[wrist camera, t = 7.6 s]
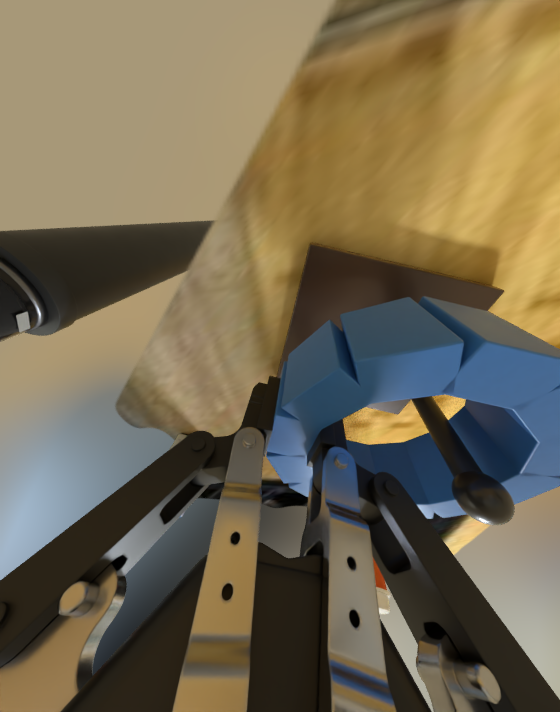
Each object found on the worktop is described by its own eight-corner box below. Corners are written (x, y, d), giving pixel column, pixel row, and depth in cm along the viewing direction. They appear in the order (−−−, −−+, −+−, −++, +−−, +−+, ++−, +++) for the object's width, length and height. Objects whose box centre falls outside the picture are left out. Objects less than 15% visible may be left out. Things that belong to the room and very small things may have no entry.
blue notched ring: (264, 437, 17) (253, 491, 14) (308, 268, 9) (307, 299, 6) (420, 472, 17) (446, 533, 14) (599, 337, 9) (761, 405, 6)
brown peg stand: (276, 378, 23) (245, 521, 12) (310, 242, 15) (306, 312, 4) (394, 406, 23) (466, 572, 12) (493, 285, 15) (958, 466, 4)
